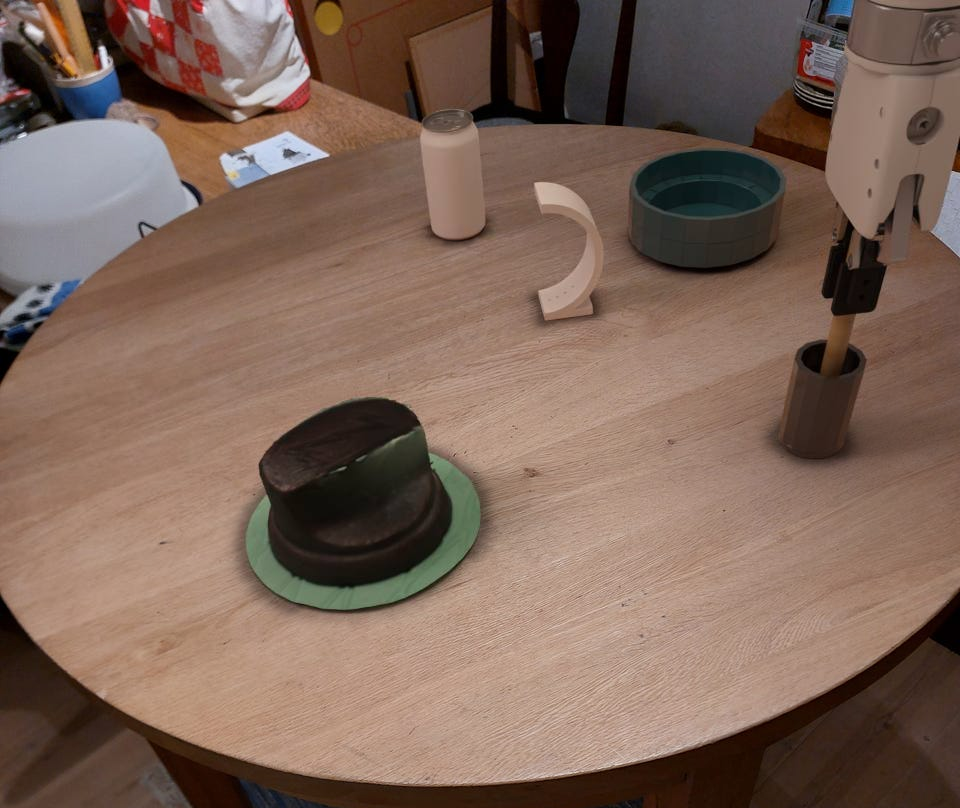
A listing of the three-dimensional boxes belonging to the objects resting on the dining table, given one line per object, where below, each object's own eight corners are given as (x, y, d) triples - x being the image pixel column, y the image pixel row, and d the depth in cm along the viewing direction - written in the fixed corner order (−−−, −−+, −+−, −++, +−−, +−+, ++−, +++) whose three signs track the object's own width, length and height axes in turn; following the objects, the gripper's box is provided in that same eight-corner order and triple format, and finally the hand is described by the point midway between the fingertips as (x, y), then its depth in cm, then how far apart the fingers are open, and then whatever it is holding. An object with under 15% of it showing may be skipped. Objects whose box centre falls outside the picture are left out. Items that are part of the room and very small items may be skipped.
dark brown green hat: (366, 405, 85) (535, 489, 76) (263, 574, 85) (422, 677, 76) (276, 318, 71) (470, 409, 63) (153, 519, 71) (331, 637, 63)
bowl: (756, 194, 106) (764, 140, 101) (793, 265, 95) (804, 209, 91) (618, 210, 106) (619, 157, 101) (640, 282, 96) (643, 227, 91)
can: (468, 246, 104) (457, 136, 95) (421, 236, 106) (406, 128, 97) (495, 220, 107) (487, 111, 98) (449, 211, 110) (437, 104, 100)
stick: (829, 412, 78) (878, 220, 65) (839, 433, 76) (891, 239, 63) (796, 416, 78) (838, 224, 65) (805, 437, 76) (850, 244, 63)
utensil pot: (832, 415, 80) (853, 335, 74) (852, 455, 76) (876, 375, 70) (771, 422, 80) (787, 342, 74) (787, 462, 76) (806, 382, 70)
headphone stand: (538, 297, 96) (533, 182, 87) (594, 289, 96) (596, 173, 87) (544, 321, 93) (540, 204, 84) (602, 313, 93) (605, 196, 84)
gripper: (1036, 65, 49) (935, 358, 63) (930, -26, 59) (864, 245, 73) (896, 83, 49) (827, 370, 64) (814, -11, 59) (770, 256, 73)
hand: (847, 302), depth 68 cm, fingers closed on stick
